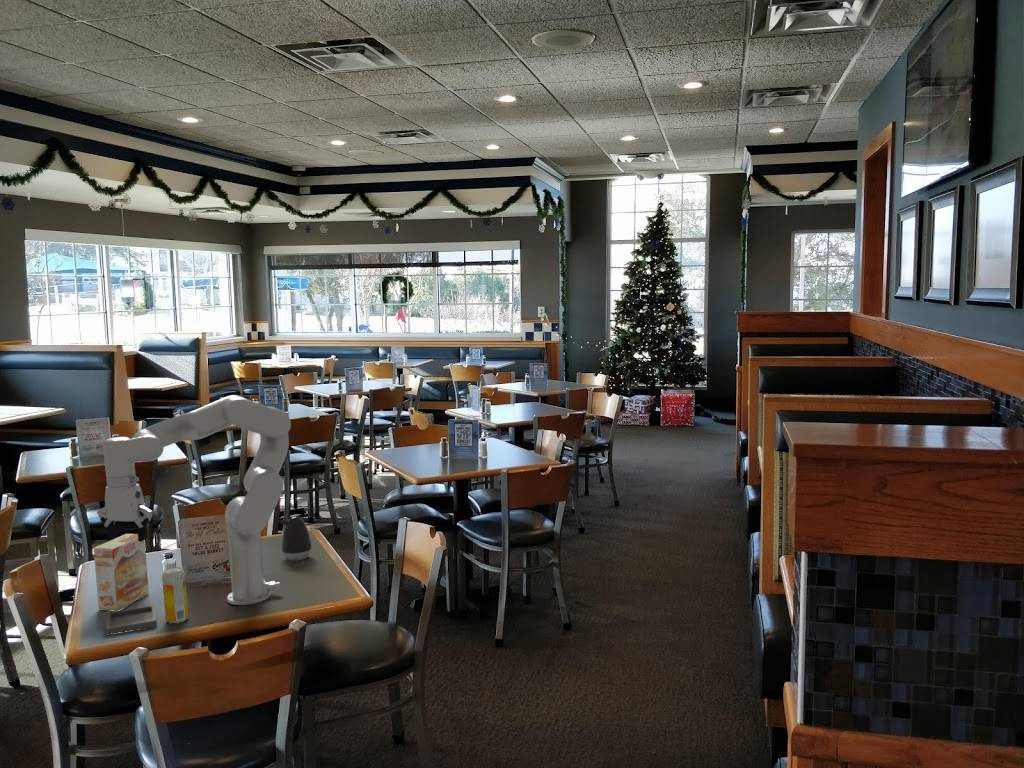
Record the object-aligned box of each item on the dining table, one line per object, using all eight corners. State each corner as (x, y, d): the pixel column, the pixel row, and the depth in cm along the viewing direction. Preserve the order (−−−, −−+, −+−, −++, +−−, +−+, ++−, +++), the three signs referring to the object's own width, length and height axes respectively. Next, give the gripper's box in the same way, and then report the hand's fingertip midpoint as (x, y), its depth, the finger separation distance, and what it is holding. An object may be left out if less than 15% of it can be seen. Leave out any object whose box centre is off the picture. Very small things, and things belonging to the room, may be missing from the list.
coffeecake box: (118, 612, 253) (112, 549, 251) (97, 610, 255) (91, 547, 253) (150, 593, 268) (145, 533, 265) (130, 592, 270) (125, 532, 267)
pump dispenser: (282, 555, 302) (280, 513, 300) (312, 552, 304) (310, 511, 302) (280, 564, 292) (277, 521, 290) (311, 562, 294) (308, 519, 292)
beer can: (181, 614, 250) (177, 565, 249) (192, 619, 247) (188, 569, 245) (161, 621, 246) (157, 571, 244) (172, 626, 242) (168, 575, 240)
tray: (155, 611, 254) (155, 604, 253) (156, 626, 242) (156, 620, 241) (107, 619, 248) (106, 612, 248) (106, 635, 237) (105, 629, 236)
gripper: (157, 478, 242) (163, 536, 244) (103, 477, 245) (110, 534, 248) (140, 484, 234) (146, 544, 237) (85, 484, 238) (92, 543, 240)
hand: (127, 539), depth 242 cm, fingers open, 9 cm apart
